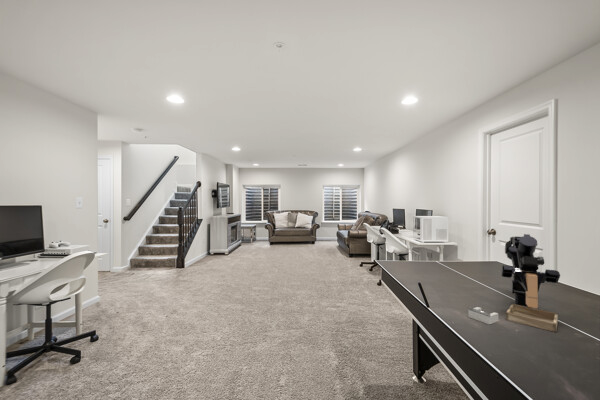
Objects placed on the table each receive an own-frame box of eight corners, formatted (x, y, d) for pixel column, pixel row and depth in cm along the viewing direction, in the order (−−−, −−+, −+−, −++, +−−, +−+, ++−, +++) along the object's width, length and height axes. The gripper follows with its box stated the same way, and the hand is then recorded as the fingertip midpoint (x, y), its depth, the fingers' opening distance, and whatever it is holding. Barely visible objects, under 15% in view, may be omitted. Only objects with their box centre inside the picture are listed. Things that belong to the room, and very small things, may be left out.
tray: (511, 311, 120) (511, 303, 120) (557, 321, 109) (557, 313, 109) (506, 320, 110) (505, 312, 110) (556, 333, 99) (556, 324, 99)
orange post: (525, 303, 113) (525, 272, 113) (535, 304, 111) (534, 273, 111) (528, 306, 109) (527, 275, 109) (537, 308, 107) (537, 276, 107)
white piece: (478, 314, 116) (478, 304, 116) (499, 321, 109) (499, 310, 109) (468, 317, 112) (468, 307, 112) (489, 325, 105) (489, 314, 105)
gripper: (501, 247, 118) (505, 277, 109) (558, 251, 109) (568, 284, 99) (499, 261, 125) (503, 291, 115) (552, 266, 115) (561, 299, 106)
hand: (532, 291), depth 109 cm, fingers closed on orange post, 3 cm apart
